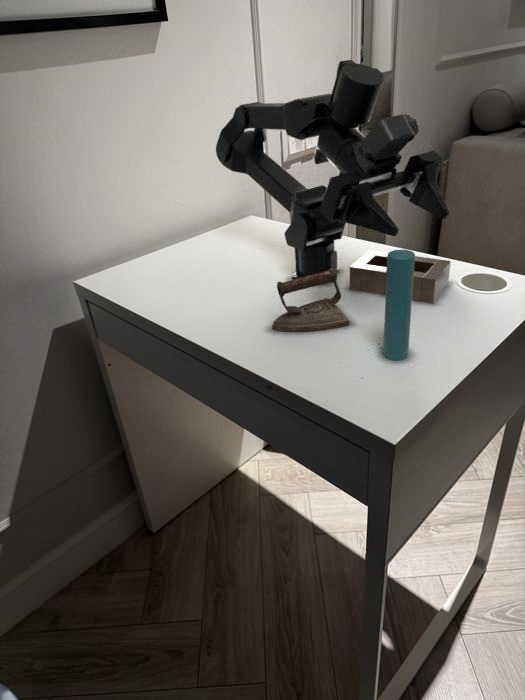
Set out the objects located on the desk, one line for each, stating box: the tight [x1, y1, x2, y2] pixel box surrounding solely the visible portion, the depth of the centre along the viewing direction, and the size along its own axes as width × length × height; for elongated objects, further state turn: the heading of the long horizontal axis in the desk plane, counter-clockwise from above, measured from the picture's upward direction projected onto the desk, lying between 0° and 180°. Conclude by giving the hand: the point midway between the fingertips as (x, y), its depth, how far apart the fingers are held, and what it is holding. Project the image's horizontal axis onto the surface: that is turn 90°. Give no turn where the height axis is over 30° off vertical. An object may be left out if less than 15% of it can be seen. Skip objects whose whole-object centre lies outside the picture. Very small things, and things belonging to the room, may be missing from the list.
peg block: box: [349, 249, 452, 304], centre depth 85 cm, size 14×8×4 cm, turn 57°
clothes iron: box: [271, 268, 351, 333], centre depth 76 cm, size 7×11×10 cm, turn 107°
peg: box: [382, 249, 416, 361], centre depth 65 cm, size 3×3×14 cm
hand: (422, 224), depth 68 cm, fingers open, 9 cm apart
